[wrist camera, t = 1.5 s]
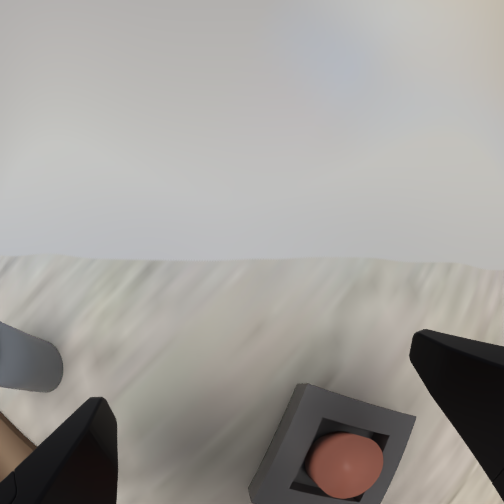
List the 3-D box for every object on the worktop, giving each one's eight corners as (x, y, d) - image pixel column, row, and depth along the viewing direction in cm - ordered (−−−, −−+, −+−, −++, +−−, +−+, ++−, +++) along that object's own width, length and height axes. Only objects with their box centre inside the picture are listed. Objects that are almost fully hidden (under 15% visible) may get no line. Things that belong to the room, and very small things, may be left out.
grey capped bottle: (51, 404, 17) (-46, 395, 7) (16, 372, 18) (-76, 345, 8) (72, 358, 19) (-21, 324, 9) (35, 329, 20) (-53, 281, 10)
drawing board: (64, 583, 8) (60, 586, 7) (-36, 496, 9) (-41, 497, 8) (100, 494, 14) (95, 497, 14) (-15, 394, 16) (-22, 393, 15)
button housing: (353, 511, 15) (369, 524, 13) (248, 488, 16) (251, 502, 14) (396, 415, 19) (416, 416, 16) (297, 383, 20) (307, 383, 17)
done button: (349, 490, 15) (366, 502, 12) (294, 478, 16) (305, 491, 13) (372, 438, 17) (392, 443, 14) (320, 424, 17) (335, 429, 15)
